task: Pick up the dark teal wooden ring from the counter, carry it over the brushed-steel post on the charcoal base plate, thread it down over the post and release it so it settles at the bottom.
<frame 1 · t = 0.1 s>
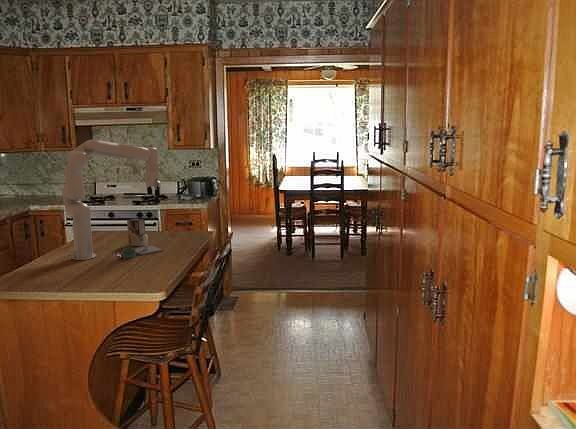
hand: (153, 195, 305), 31 cm above the countertop, fingers open, 9 cm apart
coffee box: (137, 245, 310), on the countertop
post fixture: (146, 251, 293), on the countertop
ring: (129, 256, 281), on the countertop
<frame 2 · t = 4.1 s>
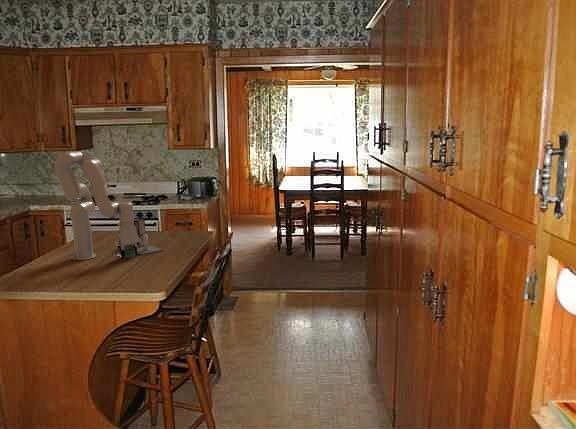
hand: (129, 254, 281), 1 cm above the countertop, fingers closed on ring, 6 cm apart
ring: (129, 256, 281), on the countertop, touching gripper
everything else where it was.
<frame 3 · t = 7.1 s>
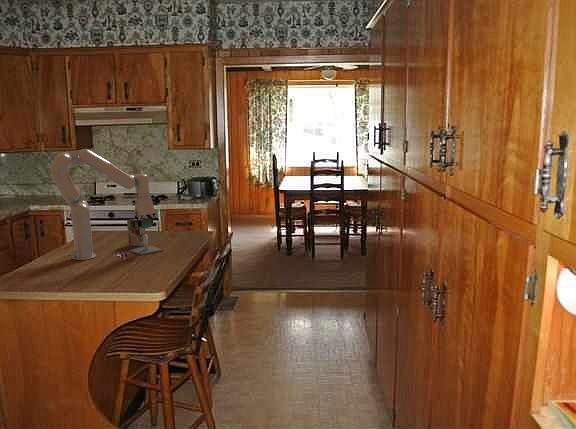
hand: (145, 225, 290), 16 cm above the countertop, fingers closed on ring, 6 cm apart
ring: (145, 227, 291), point 15 cm above the countertop, touching gripper
everything else where it was.
when the fingers open (4 cm above the countertop, at t = 10.1 s): ring drops 2 cm, resting on post fixture.
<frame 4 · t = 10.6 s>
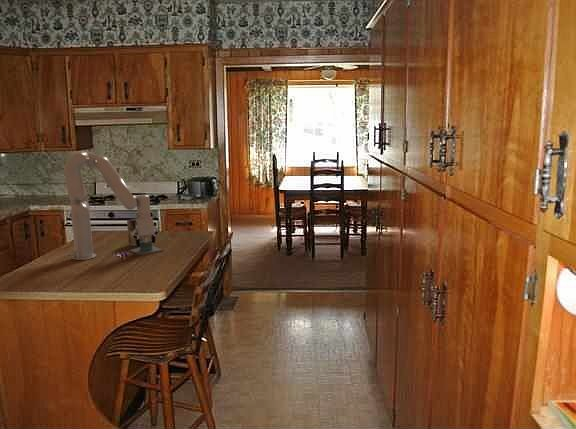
hand: (145, 244, 292), 4 cm above the countertop, fingers open, 9 cm apart
ring: (146, 249, 293), point 1 cm above the countertop, touching post fixture
everything else where it was.
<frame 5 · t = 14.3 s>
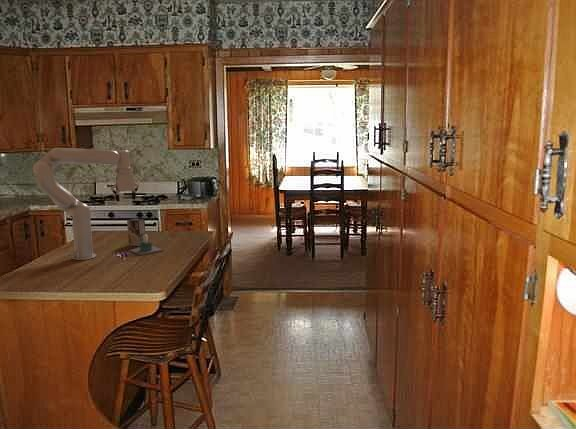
hand: (125, 200, 291), 30 cm above the countertop, fingers open, 9 cm apart
nothing on the countertop moved.
at the end: ring 0.1 cm off-centre on the post fixture, point 1.0 cm above the post fixture's base; the gripper is holding nothing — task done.
